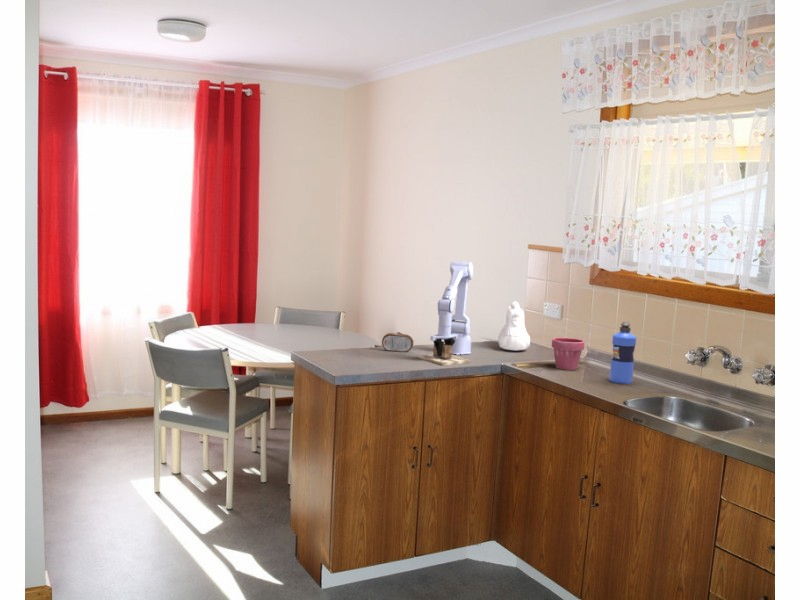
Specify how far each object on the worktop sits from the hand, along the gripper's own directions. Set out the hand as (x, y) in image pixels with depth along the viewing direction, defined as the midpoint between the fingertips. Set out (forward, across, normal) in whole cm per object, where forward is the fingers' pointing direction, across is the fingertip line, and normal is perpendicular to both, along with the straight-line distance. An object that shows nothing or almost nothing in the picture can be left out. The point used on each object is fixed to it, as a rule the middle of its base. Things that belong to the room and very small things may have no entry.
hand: (443, 355), depth 324 cm
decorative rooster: (+2, -53, -7) cm, 53 cm away
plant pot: (+2, -41, +36) cm, 55 cm away
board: (+2, -1, 0) cm, 2 cm away
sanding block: (+1, 0, -1) cm, 1 cm away
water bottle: (+2, -41, +66) cm, 77 cm away
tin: (+3, +6, -26) cm, 27 cm away
